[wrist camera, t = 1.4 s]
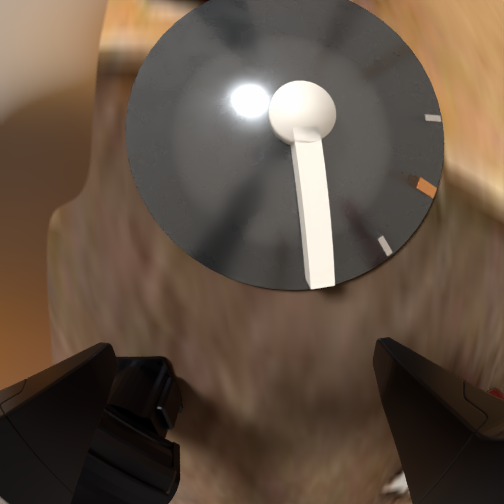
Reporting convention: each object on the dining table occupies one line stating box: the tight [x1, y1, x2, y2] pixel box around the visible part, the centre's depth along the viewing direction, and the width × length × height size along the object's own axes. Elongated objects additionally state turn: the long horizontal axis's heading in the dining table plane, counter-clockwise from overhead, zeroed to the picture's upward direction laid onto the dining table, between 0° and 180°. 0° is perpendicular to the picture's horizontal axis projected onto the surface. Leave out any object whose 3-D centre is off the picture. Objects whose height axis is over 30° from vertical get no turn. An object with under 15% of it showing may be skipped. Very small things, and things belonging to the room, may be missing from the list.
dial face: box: [126, 0, 444, 290], centre depth 18 cm, size 24×24×1 cm
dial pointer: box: [268, 81, 336, 289], centre depth 18 cm, size 13×4×2 cm, turn 8°
